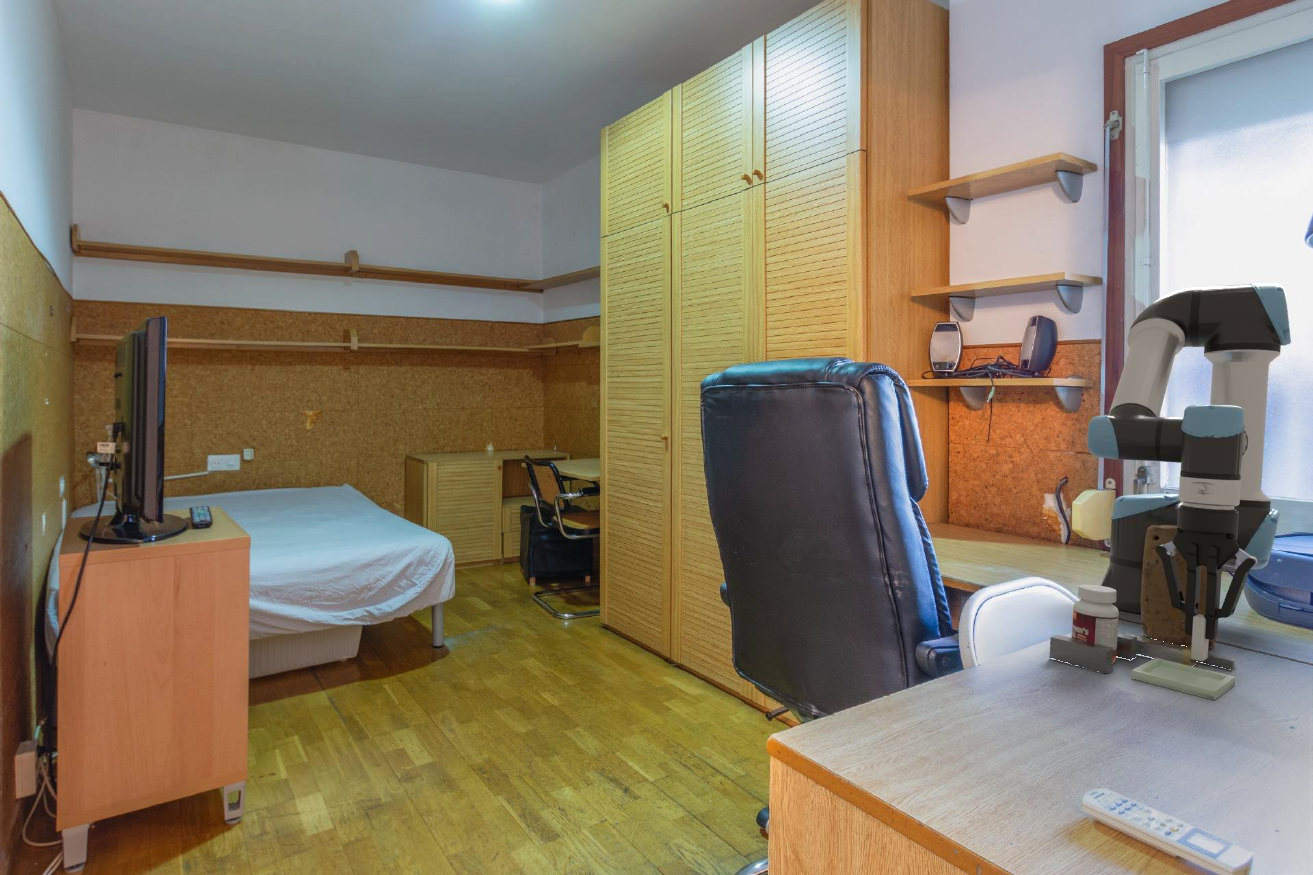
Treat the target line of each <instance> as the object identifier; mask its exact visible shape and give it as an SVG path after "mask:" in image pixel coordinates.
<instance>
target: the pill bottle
mask: <svg viewBox="0 0 1313 875" xmlns="http://www.w3.org/2000/svg"><path fill="white" fill-rule="evenodd" d="M1077 592H1078V593H1077V597H1078V598H1079V600H1076V602H1075V603H1074V604H1073V610H1072V612H1073V613H1072V627H1071V638H1074V639H1078V640H1083V641H1087V642H1091V643H1095V644H1099V645H1104V646H1108V647H1112V648H1113V664H1115V662H1116V660H1117V658H1116V651H1117V635H1118V633H1119V619H1120V618H1119V617H1120V616H1119V615H1120V613H1119V609H1117V608H1116V607H1115V606H1114V605H1112V603H1115V602H1116V590H1115V589H1113V588H1109V587H1105V586H1100V585H1096V584H1080V585H1078V591H1077Z"/></svg>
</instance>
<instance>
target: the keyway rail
mask: <svg viewBox="0 0 1313 875" xmlns="http://www.w3.org/2000/svg"><path fill="white" fill-rule="evenodd" d="M1196 661H1198V662H1203V663H1206V664H1209V665H1215V666H1218V667H1223V668H1226V669H1231V670H1233V669H1234V670H1235V667H1236V665H1235V663H1236V660H1235V659H1232V658H1228V657H1223V656H1219V655H1216V654H1210V653H1208V658H1207V659H1205V660H1204V661H1199V660H1196ZM1209 665H1208V666H1209ZM1226 669H1225V670H1226ZM1234 670H1233V671H1234Z"/></svg>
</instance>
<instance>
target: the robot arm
mask: <svg viewBox="0 0 1313 875" xmlns="http://www.w3.org/2000/svg"><path fill="white" fill-rule="evenodd" d="M1287 301H1288V300H1287V294H1286V289H1285V288H1284V286H1282V285H1281V284H1278V283H1275V282H1274V283H1256V282H1252V283H1245V284H1233V285H1232V284H1231V285H1220V286H1207V287H1191V288H1190V287H1189V288H1183V289H1180V290H1179V289H1178V290H1176V291H1173V292H1170V293H1168V294H1166V295H1164V296H1162V297H1160V298H1159V299H1157V300H1155V301H1153V303H1151V304H1150V305H1149V306H1147V307H1146V308H1145V309H1144V310H1142V312H1140V314H1139V315H1137V317H1136V318H1135V319H1134V321H1133V323H1132V324H1131V326H1130V328H1129V332H1128V334H1127V339H1126V340H1127V341H1126V342H1127V345H1128V347H1129V351H1128V353H1127V356H1126V358H1125V359H1126V360H1125V363H1124V366H1123V369H1122V372H1121V374H1120V378H1119V381H1118V384H1117V387H1116V389H1115V390H1116V391H1115V393H1114V397H1113V399H1112V403H1111V406H1110V408H1109V412H1108V414H1104V415H1095V416H1094V417H1092V418H1091V419H1090V421H1089V423H1088V427H1087V437H1086V438H1087V440H1086V441H1087V449H1088V451H1089V454H1091V456H1093V457H1095V458H1101V459H1103V458H1104V459H1111V460H1114V461H1115V460H1116V461H1118V460H1119V461H1120V460H1122V461H1145V462H1146V461H1147V462H1149V461H1150V462H1162V463H1163V462H1164V463H1175V464H1176V463H1179V464H1180V472H1179V482H1178V484H1179V487H1178V493H1145V494H1144V493H1143V494H1127V495H1121V496H1118V497H1117V498H1116V499H1115V500H1114V501H1113V505H1112V513H1111V516H1110V520H1111V523H1110V524H1111V526H1110V527H1111V528H1110V543H1109V544H1110V549H1109V564H1108V568H1107V570H1106V572H1105V574H1104V576H1103V578H1102V580H1101V583H1100V585H1099V586H1105V587H1109V588H1113V589H1115V590H1116V602H1115V603H1112V605H1114V606H1115V607H1116V608H1117V609H1118V610H1120V611H1125V612H1130V613H1136V614H1141V588H1142V571H1143V556H1144V547H1145V538H1146V533H1147V529H1148V527H1150V526H1161V525H1171V526H1177V531H1176V534H1175V535H1174V536H1173V539H1172V541H1171V542H1169V543H1166V544H1163V545H1159V546H1157V547H1156V548H1155V550H1156V552H1157V554H1158V555H1159V557H1160V558H1161V560H1162V563H1163V567H1164V572H1165V577H1166V581H1167V586H1168V590H1169V595H1170V600H1171V604H1172V607H1173V608H1176V609H1179V610H1181V611H1183V612H1184V613H1185V616H1186V617H1185V633H1186V635H1190V636H1192V648H1191V659H1194V660H1199V661H1204V660H1205V659H1207V658H1208V654H1209V648H1208V642H1209V640H1214V639H1215V638H1216V637H1218V632H1217V627H1218V628H1219V619H1223V618H1224V619H1227V618H1229V617H1231V616H1232V615H1234V614H1235V611H1236V608H1237V607H1238V606H1237V605H1238V603H1239V600H1240V598H1241V595H1242V593H1243V590H1244V588H1245V585H1246V583H1247V579H1248V576H1249V574H1250V572H1251V571H1252V570H1262V569H1263V568H1265V567H1266V566H1267V565H1268V564H1269V560H1270V557H1271V553H1272V549H1273V545H1274V541H1275V537H1276V534H1277V529H1278V524H1279V520H1280V516H1281V512H1280V511H1279V510H1277V509H1276V508H1271V506H1272V505H1271V504H1272V500H1271V498H1270V497H1268V495H1267V494H1265V493H1264V492H1263V490H1262V482H1263V481H1262V479H1263V464H1264V453H1265V452H1264V451H1265V450H1264V449H1265V448H1264V447H1265V436H1266V435H1265V432H1266V416H1267V403H1268V402H1267V401H1268V400H1267V399H1268V386H1269V371H1270V370H1269V369H1270V368H1269V367H1270V364H1271V362H1273V361H1274V360H1275V359H1276V358H1278V357H1279V356H1280V355H1281V348H1282V347H1281V346H1287V345H1290V344H1291V343H1292V339H1291V328H1290V321H1289V320H1290V319H1289V311H1288V303H1287ZM1187 347H1188V348H1198V347H1199V348H1200V347H1201V348H1203V357H1204V358H1206V360H1208V361H1209V362H1210V363H1211V364H1212V370H1211V385H1210V387H1211V388H1210V402H1209V404H1191V405H1188V406H1186V407H1185V408H1184V411H1183V417H1166V416H1164V417H1163V416H1162V417H1161V416H1160V415H1161V411H1162V407H1163V404H1164V399H1165V397H1166V391H1167V388H1168V386H1169V385H1168V384H1169V380H1170V375H1171V373H1172V369H1173V366H1174V360H1175V357H1176V356H1177V354H1180V352H1181V351H1182V349H1183V348H1187ZM1176 548H1177V549H1178V551H1179V552H1180V554H1181V555H1182V556H1183V558H1184V559H1185V561H1186V562H1187V568H1186V569H1187V584H1186V601H1185V599H1184V594H1183V590H1182V585H1181V580H1180V576H1179V571H1178V567H1177V562H1176V559H1175V556H1174V555H1176ZM1202 565H1203V566H1206V567H1207V589H1206V607H1205V615H1201V614H1198V612H1199V611H1200V609H1199V599H1200V583H1201V570H1202ZM1224 567H1229V568H1233V569H1235V571H1234V574H1233V577H1232V579H1231V582H1230V584H1229V587H1228V590H1227V593H1226V594H1225V598H1224V600H1223V603H1222V605H1221V587H1222V586H1221V585H1222V574H1223V569H1224ZM1220 607H1221V608H1220ZM1216 639H1217V638H1216Z"/></svg>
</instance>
